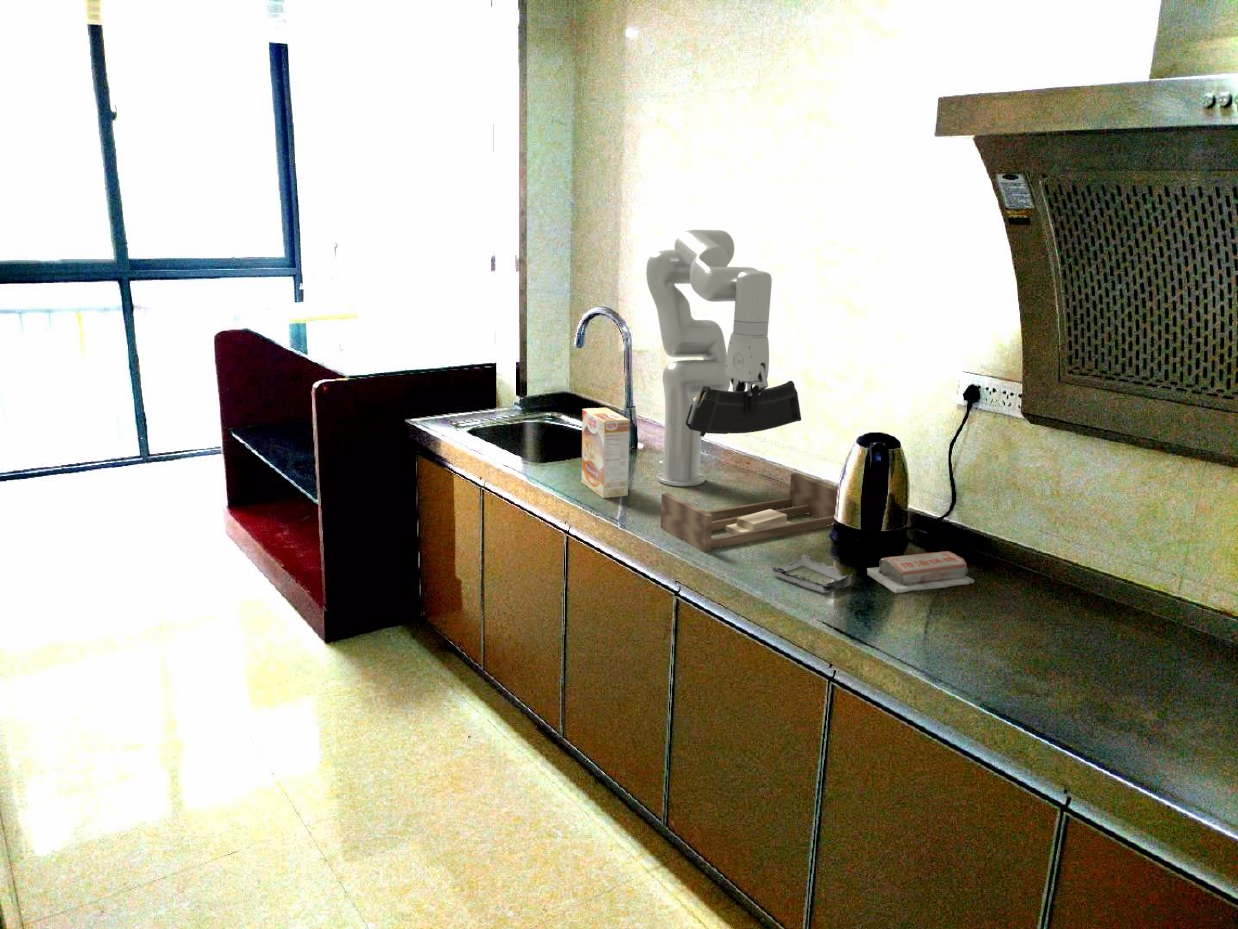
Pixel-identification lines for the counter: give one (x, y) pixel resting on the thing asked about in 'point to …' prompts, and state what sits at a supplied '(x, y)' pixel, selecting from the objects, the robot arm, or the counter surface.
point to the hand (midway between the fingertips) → (744, 410)
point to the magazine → (727, 410)
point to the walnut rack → (699, 523)
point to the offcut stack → (758, 521)
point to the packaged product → (921, 571)
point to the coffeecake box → (605, 452)
